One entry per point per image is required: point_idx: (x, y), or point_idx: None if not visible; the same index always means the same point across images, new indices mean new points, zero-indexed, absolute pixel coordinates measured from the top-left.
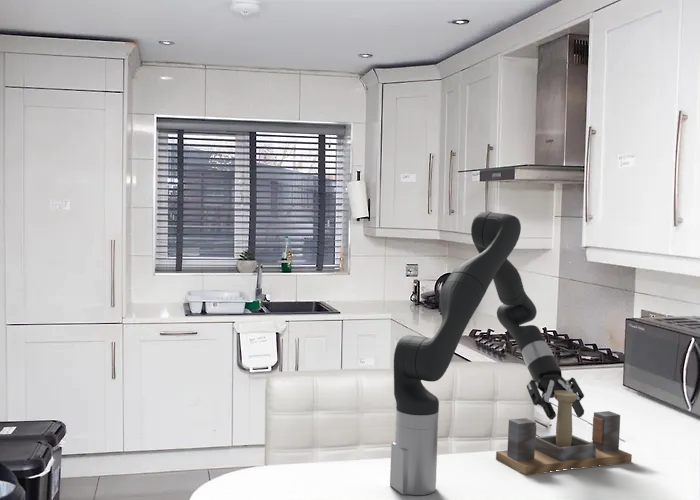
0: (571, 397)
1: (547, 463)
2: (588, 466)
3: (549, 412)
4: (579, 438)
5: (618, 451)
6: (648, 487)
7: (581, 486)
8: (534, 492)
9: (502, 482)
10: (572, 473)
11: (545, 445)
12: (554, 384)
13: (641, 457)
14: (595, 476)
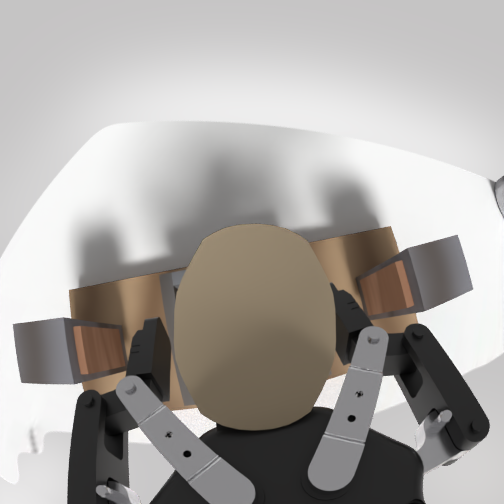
0: (254, 227)
1: (333, 241)
2: None
3: (350, 295)
4: (174, 351)
5: (83, 319)
6: (151, 148)
7: (286, 160)
8: (382, 151)
9: (425, 202)
10: None
11: None
12: (285, 481)
13: None
14: (221, 209)
